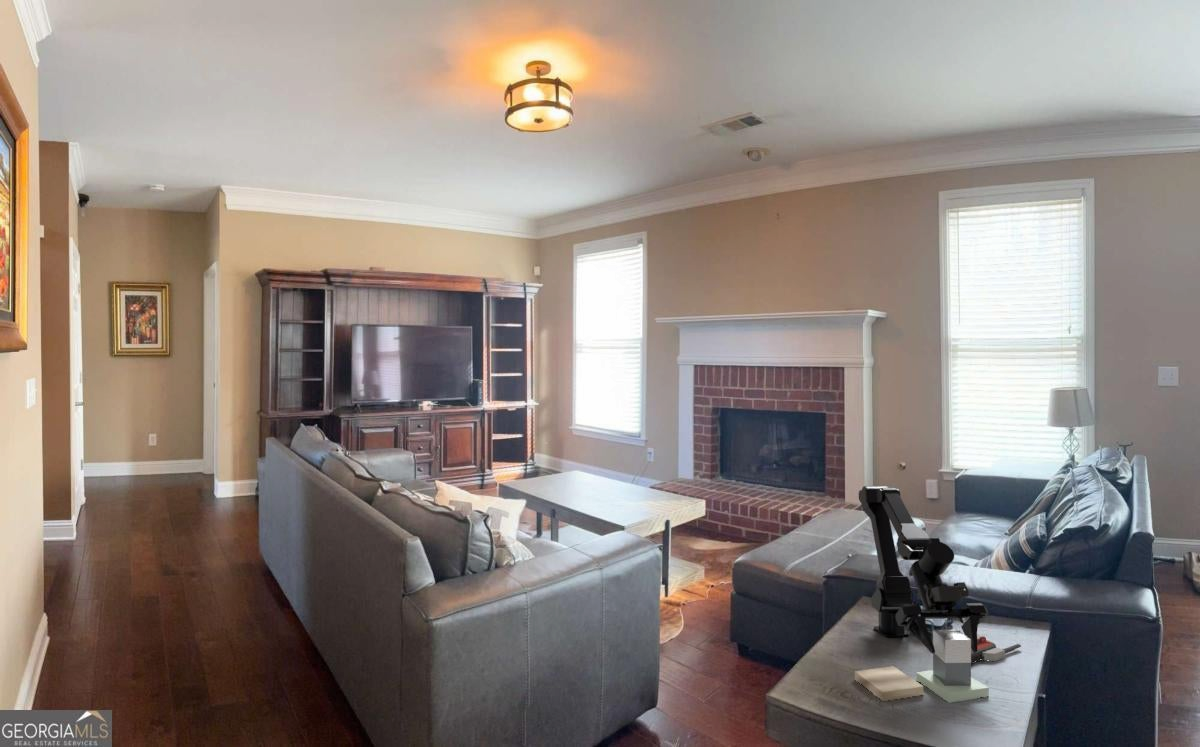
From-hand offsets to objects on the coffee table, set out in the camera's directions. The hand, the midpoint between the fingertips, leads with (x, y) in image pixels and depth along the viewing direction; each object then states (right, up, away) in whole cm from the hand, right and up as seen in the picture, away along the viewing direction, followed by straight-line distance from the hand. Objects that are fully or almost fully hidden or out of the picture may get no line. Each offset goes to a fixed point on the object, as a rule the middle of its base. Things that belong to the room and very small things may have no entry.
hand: (954, 652), depth 148 cm
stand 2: (0, -9, +1) cm, 9 cm away
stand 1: (-13, -9, +2) cm, 16 cm away
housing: (0, -7, +1) cm, 7 cm away
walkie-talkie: (+17, -9, +19) cm, 27 cm away
